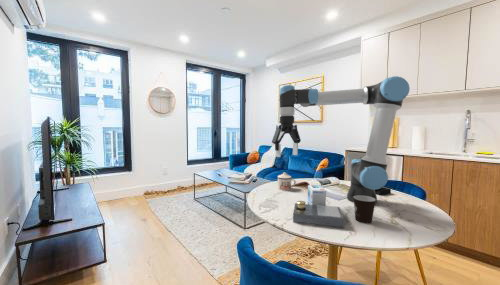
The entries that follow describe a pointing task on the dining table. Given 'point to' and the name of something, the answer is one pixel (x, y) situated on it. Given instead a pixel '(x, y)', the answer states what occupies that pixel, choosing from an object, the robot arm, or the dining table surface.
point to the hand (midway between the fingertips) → (287, 155)
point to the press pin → (301, 205)
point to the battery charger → (383, 191)
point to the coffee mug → (364, 208)
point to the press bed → (319, 215)
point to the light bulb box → (316, 195)
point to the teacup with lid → (285, 182)
